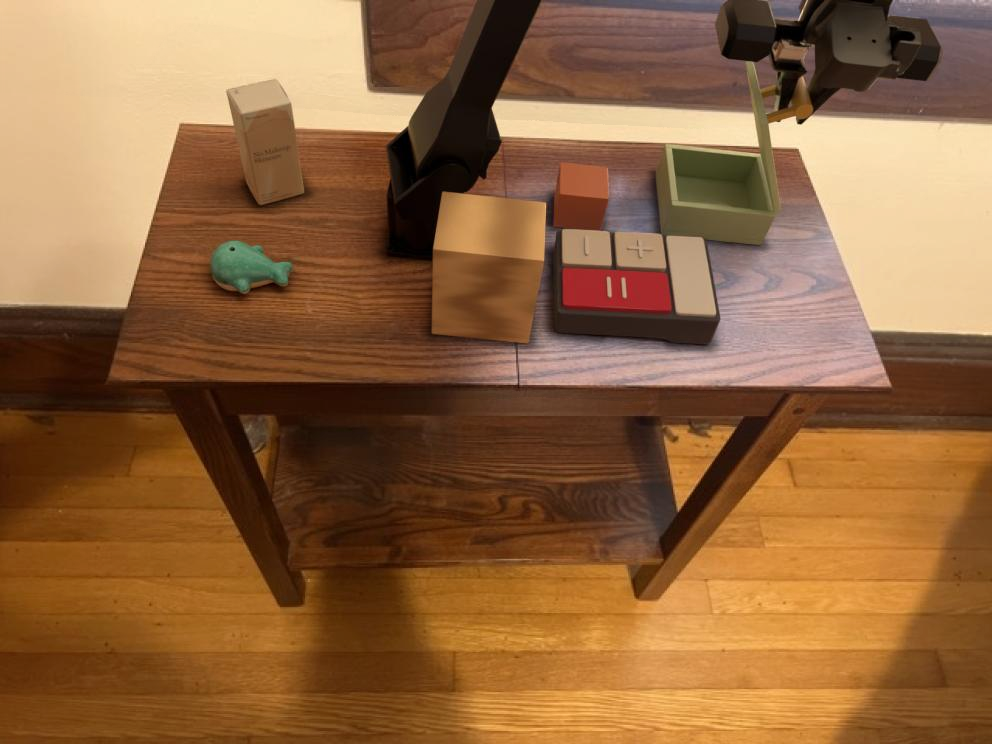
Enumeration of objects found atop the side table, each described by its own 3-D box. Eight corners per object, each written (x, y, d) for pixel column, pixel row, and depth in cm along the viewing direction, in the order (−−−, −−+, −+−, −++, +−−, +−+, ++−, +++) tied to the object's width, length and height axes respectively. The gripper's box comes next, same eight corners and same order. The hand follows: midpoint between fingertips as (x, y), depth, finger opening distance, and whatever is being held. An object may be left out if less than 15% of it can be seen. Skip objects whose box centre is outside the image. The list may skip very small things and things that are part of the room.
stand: (431, 334, 68) (432, 249, 59) (439, 278, 72) (442, 191, 63) (528, 343, 68) (544, 260, 59) (531, 288, 72) (546, 202, 63)
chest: (661, 235, 78) (671, 204, 75) (655, 173, 84) (665, 143, 80) (760, 245, 78) (776, 216, 75) (748, 184, 84) (761, 154, 81)
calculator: (557, 222, 72) (708, 230, 72) (552, 254, 76) (697, 261, 76) (557, 307, 66) (724, 316, 66) (553, 337, 69) (711, 345, 69)
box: (259, 207, 76) (236, 114, 67) (245, 181, 78) (222, 88, 69) (307, 193, 77) (292, 100, 68) (293, 168, 79) (276, 76, 70)
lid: (759, 123, 66) (816, 107, 65) (745, 61, 72) (796, 45, 70) (774, 214, 75) (824, 201, 73) (759, 152, 81) (806, 139, 79)
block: (553, 226, 77) (559, 193, 74) (554, 195, 80) (560, 162, 77) (600, 231, 78) (608, 199, 74) (599, 200, 80) (607, 167, 77)
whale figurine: (226, 251, 72) (217, 222, 68) (300, 262, 72) (295, 233, 68) (205, 295, 68) (195, 267, 65) (283, 307, 68) (276, 279, 65)
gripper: (766, -8, 54) (701, 163, 67) (1013, 20, 54) (902, 185, 67) (746, -77, 60) (690, 92, 73) (967, -51, 61) (873, 112, 74)
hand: (787, 120), depth 72 cm, fingers closed
